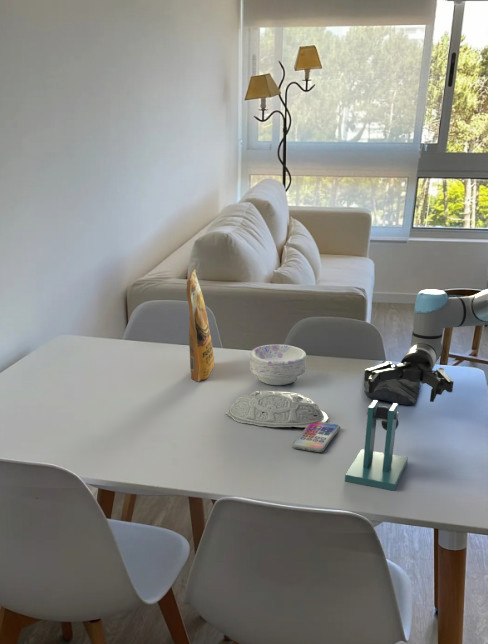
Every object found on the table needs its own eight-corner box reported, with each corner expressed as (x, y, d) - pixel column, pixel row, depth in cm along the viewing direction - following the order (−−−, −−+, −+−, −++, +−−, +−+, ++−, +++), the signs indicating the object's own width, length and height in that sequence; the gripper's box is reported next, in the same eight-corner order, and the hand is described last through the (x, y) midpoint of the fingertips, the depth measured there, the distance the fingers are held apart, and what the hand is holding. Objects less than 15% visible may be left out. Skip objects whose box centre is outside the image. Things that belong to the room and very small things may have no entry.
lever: (381, 431, 152) (384, 414, 152) (397, 433, 151) (401, 417, 151) (370, 420, 139) (374, 402, 139) (388, 423, 137) (392, 405, 138)
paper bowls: (275, 393, 185) (276, 365, 182) (238, 378, 196) (238, 350, 192) (316, 381, 194) (318, 353, 190) (279, 367, 204) (280, 340, 201)
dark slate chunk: (354, 401, 180) (356, 384, 178) (365, 374, 199) (367, 357, 197) (416, 408, 176) (418, 390, 174) (421, 379, 195) (423, 363, 193)
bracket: (360, 455, 152) (366, 390, 146) (407, 463, 149) (415, 398, 142) (344, 481, 141) (350, 413, 135) (394, 490, 138) (402, 421, 132)
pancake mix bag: (181, 383, 192) (178, 279, 180) (195, 361, 209) (193, 265, 197) (205, 384, 191) (203, 280, 179) (217, 362, 208) (216, 266, 196)
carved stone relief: (321, 430, 161) (321, 402, 159) (217, 424, 168) (216, 396, 166) (333, 412, 175) (333, 386, 173) (237, 407, 182) (236, 382, 180)
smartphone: (290, 444, 155) (311, 419, 167) (290, 448, 155) (311, 423, 167) (322, 449, 152) (341, 424, 164) (322, 454, 152) (341, 428, 165)
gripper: (468, 384, 171) (456, 415, 153) (367, 371, 180) (344, 399, 162) (472, 355, 168) (461, 383, 150) (369, 342, 177) (347, 368, 159)
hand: (400, 391), depth 156 cm, fingers open, 13 cm apart
